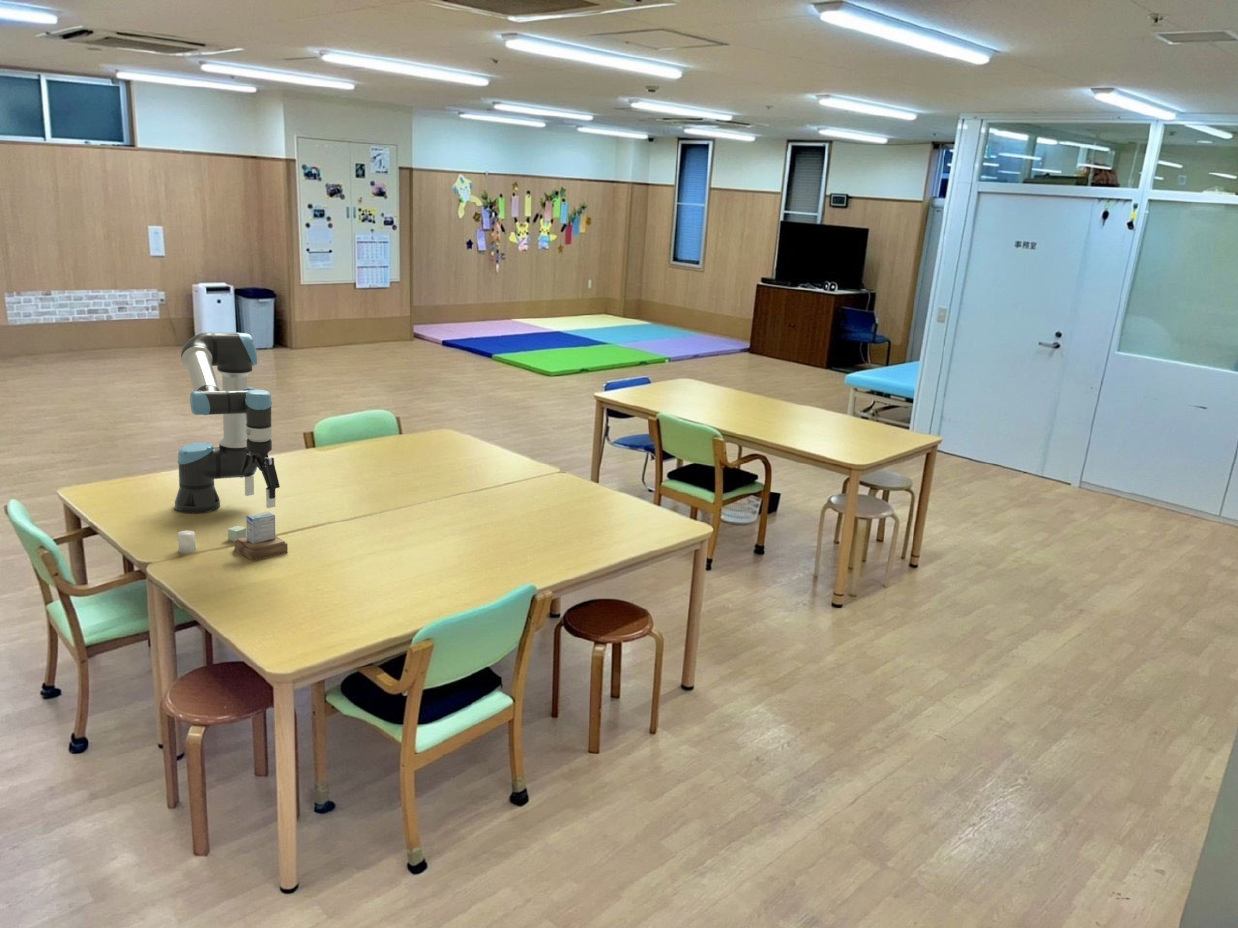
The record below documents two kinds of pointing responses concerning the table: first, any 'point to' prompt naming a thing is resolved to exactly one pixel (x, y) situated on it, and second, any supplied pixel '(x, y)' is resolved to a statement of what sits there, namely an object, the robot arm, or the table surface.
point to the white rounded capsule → (186, 541)
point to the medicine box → (260, 527)
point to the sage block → (236, 533)
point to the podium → (261, 548)
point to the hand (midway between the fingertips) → (260, 501)
